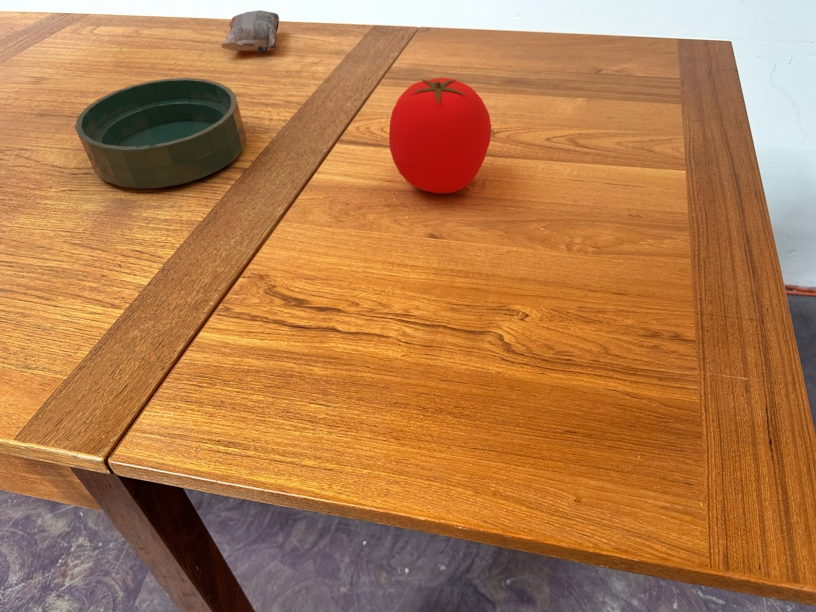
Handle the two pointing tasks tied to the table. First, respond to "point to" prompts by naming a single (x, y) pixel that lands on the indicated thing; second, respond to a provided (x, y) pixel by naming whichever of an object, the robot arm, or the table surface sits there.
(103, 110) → the bowl
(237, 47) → the packaged food
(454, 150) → the tomato
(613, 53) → the table surface
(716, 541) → the table surface
